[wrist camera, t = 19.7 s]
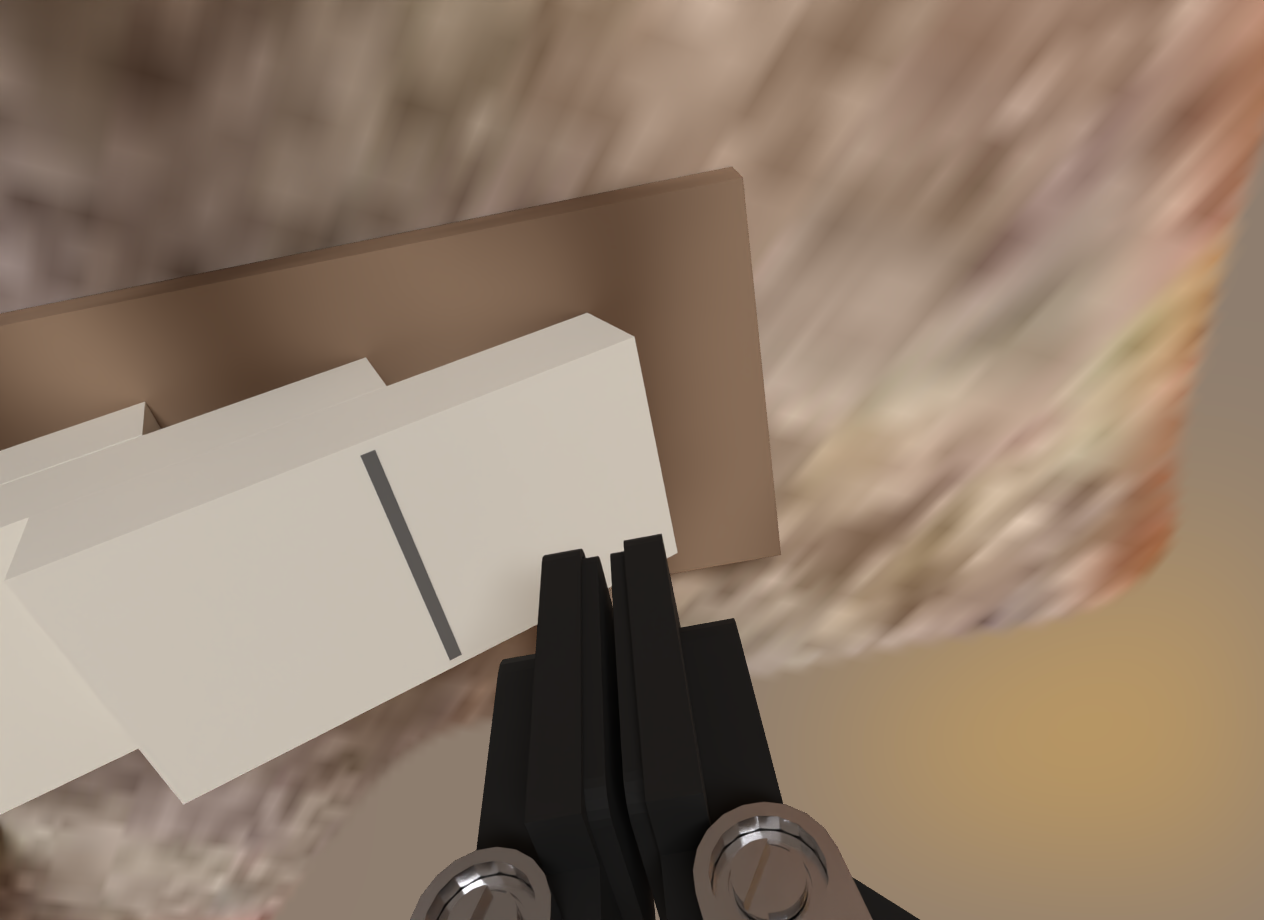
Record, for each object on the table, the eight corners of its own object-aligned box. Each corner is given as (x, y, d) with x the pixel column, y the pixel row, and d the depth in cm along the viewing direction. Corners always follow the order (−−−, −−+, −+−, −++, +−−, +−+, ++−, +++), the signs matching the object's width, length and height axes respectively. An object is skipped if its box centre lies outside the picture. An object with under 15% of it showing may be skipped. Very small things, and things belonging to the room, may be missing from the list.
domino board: (-56, 672, 21) (-90, 706, 20) (-326, 378, 16) (-388, 403, 15) (770, 526, 19) (781, 554, 18) (732, 166, 15) (743, 177, 14)
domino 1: (442, 547, 18) (-43, 767, 15) (365, 357, 15) (-242, 569, 12) (467, 591, 16) (-72, 849, 13) (386, 386, 14) (-310, 641, 10)
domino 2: (632, 512, 18) (184, 726, 14) (586, 312, 15) (28, 516, 12) (678, 553, 16) (183, 805, 13) (634, 336, 13) (3, 581, 10)
